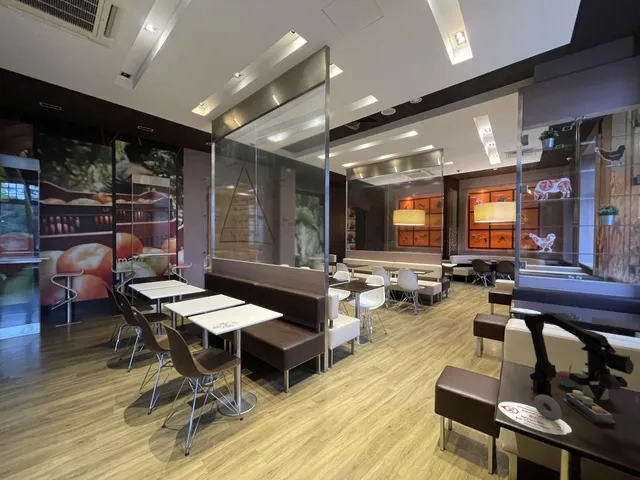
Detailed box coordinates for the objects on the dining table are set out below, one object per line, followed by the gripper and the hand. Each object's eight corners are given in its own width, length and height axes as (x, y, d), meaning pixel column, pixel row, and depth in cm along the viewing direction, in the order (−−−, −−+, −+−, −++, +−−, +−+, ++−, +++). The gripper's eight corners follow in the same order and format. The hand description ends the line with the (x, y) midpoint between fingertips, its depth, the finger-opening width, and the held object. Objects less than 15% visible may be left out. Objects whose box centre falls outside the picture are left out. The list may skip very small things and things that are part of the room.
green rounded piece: (586, 408, 119) (586, 400, 119) (579, 403, 122) (579, 395, 122) (595, 408, 118) (595, 400, 118) (588, 403, 122) (588, 396, 122)
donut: (532, 413, 120) (531, 390, 120) (536, 411, 121) (536, 389, 121) (559, 427, 110) (558, 403, 111) (564, 424, 112) (563, 401, 112)
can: (614, 400, 128) (613, 375, 129) (595, 400, 129) (594, 375, 129) (595, 389, 138) (594, 366, 138) (577, 389, 138) (576, 366, 138)
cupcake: (572, 382, 145) (572, 360, 145) (582, 390, 136) (581, 367, 137) (553, 380, 147) (552, 358, 147) (561, 388, 139) (560, 365, 139)
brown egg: (597, 418, 114) (596, 410, 114) (589, 413, 117) (589, 405, 117) (606, 419, 113) (606, 411, 113) (598, 414, 117) (598, 406, 117)
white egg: (577, 401, 124) (577, 394, 124) (570, 397, 127) (570, 389, 127) (585, 402, 123) (585, 394, 123) (579, 397, 127) (578, 390, 127)
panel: (592, 422, 113) (592, 413, 113) (563, 400, 128) (562, 393, 129) (616, 424, 112) (615, 415, 112) (583, 401, 127) (583, 394, 127)
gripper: (589, 371, 108) (590, 409, 108) (641, 373, 106) (642, 412, 106) (567, 359, 120) (568, 394, 119) (613, 361, 117) (614, 396, 117)
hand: (597, 399), depth 115 cm, fingers closed
